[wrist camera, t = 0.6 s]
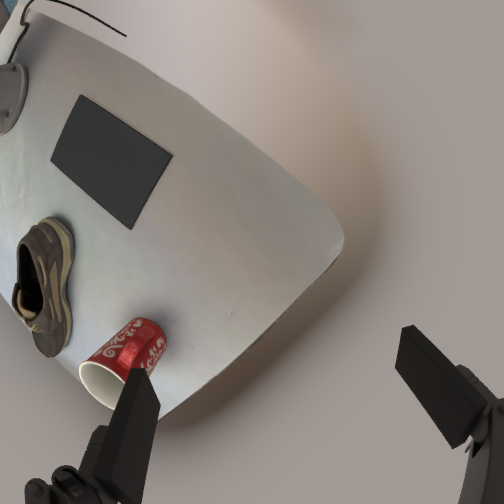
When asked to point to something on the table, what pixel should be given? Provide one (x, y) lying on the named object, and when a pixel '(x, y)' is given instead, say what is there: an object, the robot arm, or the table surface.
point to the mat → (109, 160)
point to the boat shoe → (45, 284)
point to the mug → (122, 359)
